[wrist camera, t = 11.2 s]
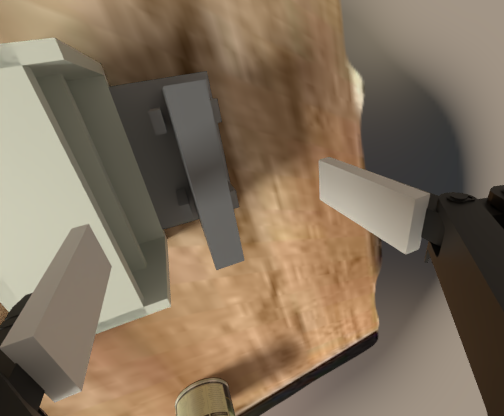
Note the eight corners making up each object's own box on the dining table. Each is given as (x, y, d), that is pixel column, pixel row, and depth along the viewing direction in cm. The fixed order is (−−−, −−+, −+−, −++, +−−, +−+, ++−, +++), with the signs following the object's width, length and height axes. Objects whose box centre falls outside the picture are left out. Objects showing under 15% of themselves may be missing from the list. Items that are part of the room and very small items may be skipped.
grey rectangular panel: (161, 90, 25) (163, 86, 14) (187, 86, 25) (207, 78, 15) (197, 212, 31) (216, 270, 21) (217, 206, 32) (246, 259, 21)
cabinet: (-26, 81, 21) (-205, 67, 11) (200, 49, 25) (229, 17, 15) (83, 264, 30) (44, 352, 20) (236, 218, 34) (269, 270, 24)
